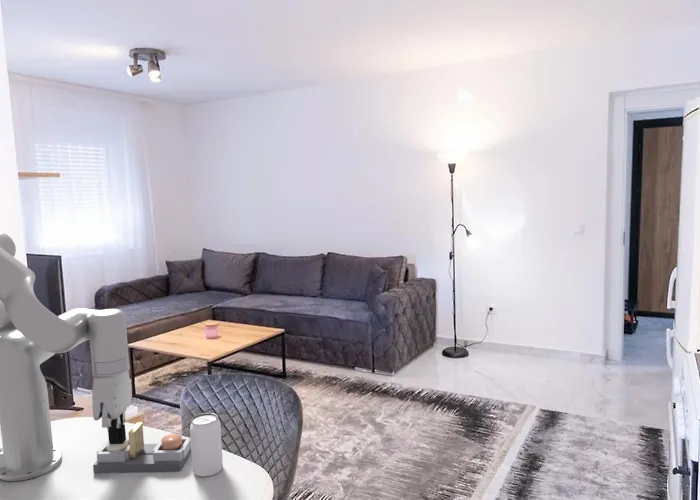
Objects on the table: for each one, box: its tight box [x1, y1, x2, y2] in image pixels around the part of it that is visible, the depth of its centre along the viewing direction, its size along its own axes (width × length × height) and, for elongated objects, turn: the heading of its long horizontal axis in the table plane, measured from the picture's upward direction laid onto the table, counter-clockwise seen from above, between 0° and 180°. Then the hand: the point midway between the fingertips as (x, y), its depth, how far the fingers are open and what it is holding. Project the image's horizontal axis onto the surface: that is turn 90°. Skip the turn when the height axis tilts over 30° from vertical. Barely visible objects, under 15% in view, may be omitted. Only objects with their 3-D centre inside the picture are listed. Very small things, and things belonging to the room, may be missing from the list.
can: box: [189, 412, 224, 478], centre depth 116 cm, size 6×6×12 cm
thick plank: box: [128, 422, 145, 458], centre depth 120 cm, size 1×5×6 cm, turn 0°
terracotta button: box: [160, 433, 183, 450], centre depth 120 cm, size 4×4×2 cm
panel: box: [92, 436, 192, 475], centre depth 120 cm, size 20×9×4 cm, turn 90°
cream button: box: [106, 439, 128, 452], centre depth 120 cm, size 4×4×2 cm
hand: (117, 442), depth 120 cm, fingers closed
